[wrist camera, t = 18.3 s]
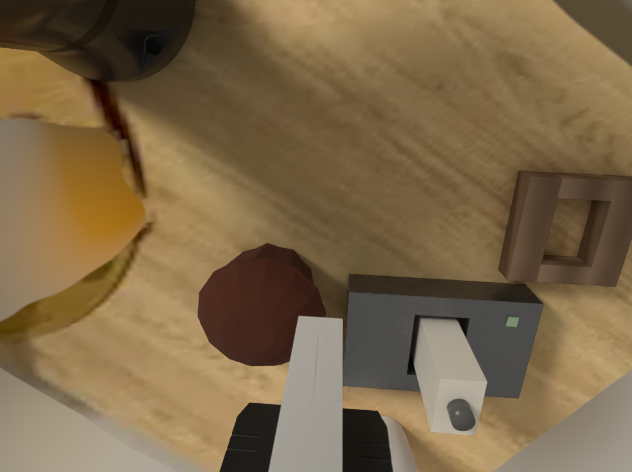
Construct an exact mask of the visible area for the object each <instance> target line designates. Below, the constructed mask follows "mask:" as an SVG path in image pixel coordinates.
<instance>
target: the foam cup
mask: <svg viewBox="0 0 632 472" xmlns="http://www.w3.org/2000/svg"><path fill="white" fill-rule="evenodd" d="M380 416H381V415H380ZM381 417H382V419H383V420H384V422H385V424H386V425H387V429H388V436H389V444H390V445H389V447H390V451H391V462H392V467H393V472H419V471H418V468H417V466H416V463H415V460H414V457H413V454H412V451H411V448H410V446H409V443H408V440H407V437H406V435H405V432H404V430H403V428H402V426H401V425H400V423H399V422H397V421H395V420H394V419H392V418H391V417H386V416H381Z"/></svg>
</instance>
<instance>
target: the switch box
mask: <svg viewBox="0 0 632 472" xmlns="http://www.w3.org/2000/svg"><path fill="white" fill-rule="evenodd" d="M542 308H543V303H542V302H541V301H540V300H539V299H538V297H537V296H536V295H535V294H534V293H533V292H532V291H531V290H530V289H529V288H528V287H527V286H526V285H525V284H511V283H494V282H477V281H460V280H443V279H426V278H409V277H392V276H376V275H359V274H349V278H348V292H347V307H346V321H345V335H344V349H343V386H351V387H365V388H379V389H393V390H407V391H420V387H419V383H418V379H417V375H416V371H415V367H414V363H413V359H412V355H411V352H410V346H411V339H412V332H413V325H414V317H415V315H426V316H442V317H456V319H457V321H458V323H459V325H460V327H461V329H462V331H463V333H464V335H465V337H466V339H467V341H468V344H469V346H470V348H471V350H472V352H473V354H474V356H475V358H476V360H477V362H478V364H479V366H480V368H481V370H482V372H483V374H484V376H485V378H486V380H487V386H486V390H485V395H484V396H490V397H504V398H518V399H519V396H520V392H521V388H522V384H523V380H524V377H525V373H526V369H527V365H528V361H529V358H530V354H531V350H532V346H533V342H534V339H535V335H536V331H537V327H538V323H539V320H540V316H541V312H542Z"/></svg>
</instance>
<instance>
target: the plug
mask: <svg viewBox="0 0 632 472" xmlns="http://www.w3.org/2000/svg"><path fill="white" fill-rule="evenodd" d="M410 352H411V355H412V359H413V363H414V367H415V371H416V375H417V379H418V383H419V387H420V391H421V395H422V398H423V402H424V406H425V410H426V414H427V418H428V422H429V426H430V430H431V432H440V433H453V434H466V435H476V430H477V426H478V421H479V417H480V412H481V408H482V403H483V399H484V395H485V390H486V386H487V380H486V378H485V376H484V374H483V372H482V370H481V368H480V366H479V364H478V362H477V360H476V358H475V356H474V354H473V352H472V350H471V348H470V346H469V344H468V341H467V339H466V337H465V335H464V333H463V331H462V329H461V327H460V325H459V323H458V321H457V319H456V317H442V316H426V315H415V317H414V325H413V332H412V339H411V346H410Z"/></svg>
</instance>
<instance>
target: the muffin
mask: <svg viewBox="0 0 632 472" xmlns="http://www.w3.org/2000/svg"><path fill="white" fill-rule="evenodd" d="M325 314H326V312H325V309H324V306H323V303H322V300H321V297H320V294H319V291H318V288H317V287H316V286H315V285H314V284H313V279H312V273H311V269H310V268H309V267H308V266H307V265H306V264H305V263H304V262H303V261H302V260H301V259H300V258H299V256H298V255H297V254H296V252H295V251H294V250H293V249H287V248H280V247H277V246H275V245H272V244H269V243H266V244H264V245H262V246H260V247H258V248H256V249H252V250H248V251H244V252H242V253H241V254H240V255H239V256H237V257H236V258H235V259H234V260H232V261H231V262H230V263H229V264H227V265H226V266H224V267H222V268H220V269H218V270H216V271H214V272H213V274H212V275H211V276H210V278H209V279H208V281H207V282H206V284H205V285H204V287H203V288H202V289H201V291H200V292H199V305H198V318H199V320H200V323H201V325H202V328H203V330H204V332H205V334H206V336H207V338H208V340H209V342H210V343H211V344H212V345H213V346H214V347H215V348H217V349H218V350H219V351H220V352H222V353H223V354H224V355H225V356H226V357H228V358H229V359H231V360H234V361H237V362H240V363H243V364H246V365H249V366H275V365H282V364H284V363H286V362H289V361H290V358H291V353H292V348H293V343H294V337H295V332H296V327H297V322H298V317H299V316H308V317H323V318H325Z"/></svg>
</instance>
